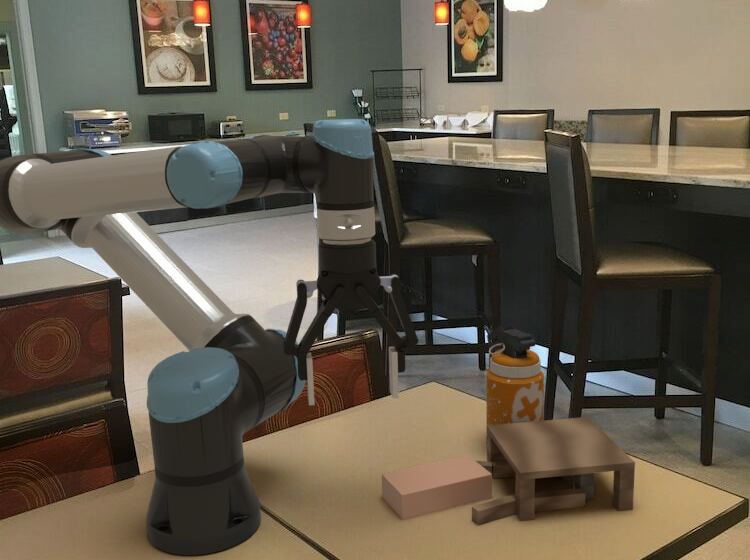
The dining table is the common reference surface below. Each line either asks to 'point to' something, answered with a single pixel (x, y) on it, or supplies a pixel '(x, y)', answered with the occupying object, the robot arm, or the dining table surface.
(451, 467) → the pink foam brick
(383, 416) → the dining table surface
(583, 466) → the shelf
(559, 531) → the dining table surface
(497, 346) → the canister
